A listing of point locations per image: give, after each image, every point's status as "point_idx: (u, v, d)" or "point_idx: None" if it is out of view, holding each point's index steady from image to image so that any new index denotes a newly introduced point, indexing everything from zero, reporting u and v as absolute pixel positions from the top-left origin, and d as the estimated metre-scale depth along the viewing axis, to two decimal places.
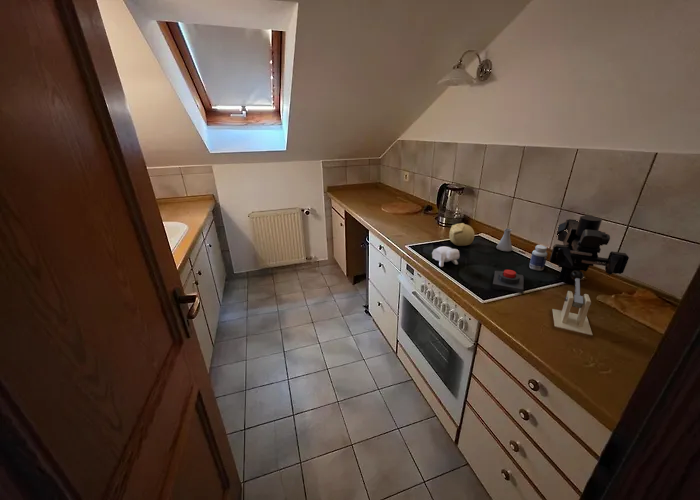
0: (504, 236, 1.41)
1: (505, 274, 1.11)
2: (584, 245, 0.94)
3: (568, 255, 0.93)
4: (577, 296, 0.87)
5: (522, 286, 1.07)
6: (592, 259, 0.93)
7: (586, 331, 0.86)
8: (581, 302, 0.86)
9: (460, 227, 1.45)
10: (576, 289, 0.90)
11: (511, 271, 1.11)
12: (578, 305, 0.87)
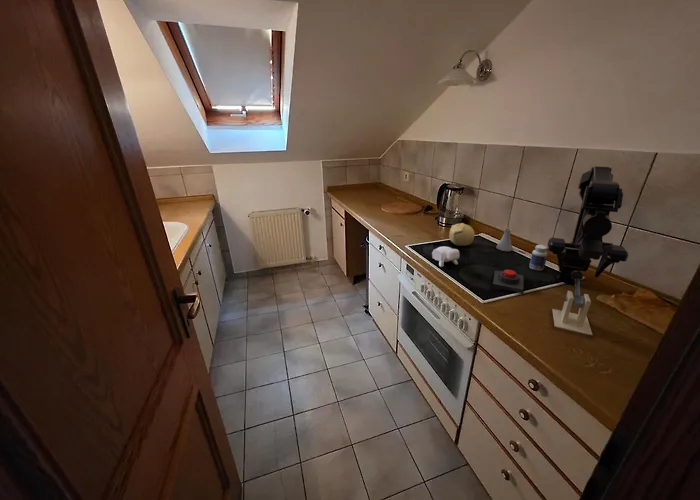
0: (504, 236, 1.41)
1: (505, 274, 1.11)
2: None
3: (561, 258, 0.92)
4: (577, 296, 0.87)
5: (522, 286, 1.07)
6: None
7: (586, 331, 0.86)
8: (581, 302, 0.86)
9: (460, 227, 1.45)
10: (576, 289, 0.90)
11: (511, 271, 1.11)
12: (578, 305, 0.87)
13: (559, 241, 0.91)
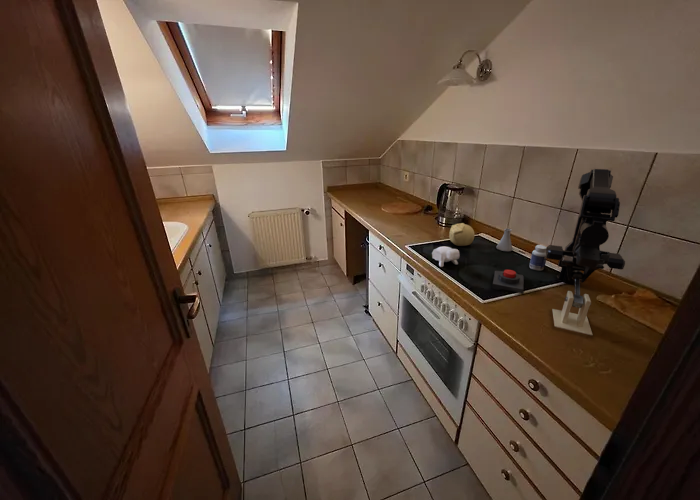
0: (504, 236, 1.41)
1: (505, 274, 1.11)
2: None
3: (570, 267, 0.92)
4: (577, 296, 0.87)
5: (522, 286, 1.07)
6: None
7: (586, 331, 0.86)
8: (581, 302, 0.86)
9: (460, 227, 1.45)
10: (576, 289, 0.90)
11: (511, 271, 1.11)
12: (578, 305, 0.87)
13: (557, 249, 0.92)
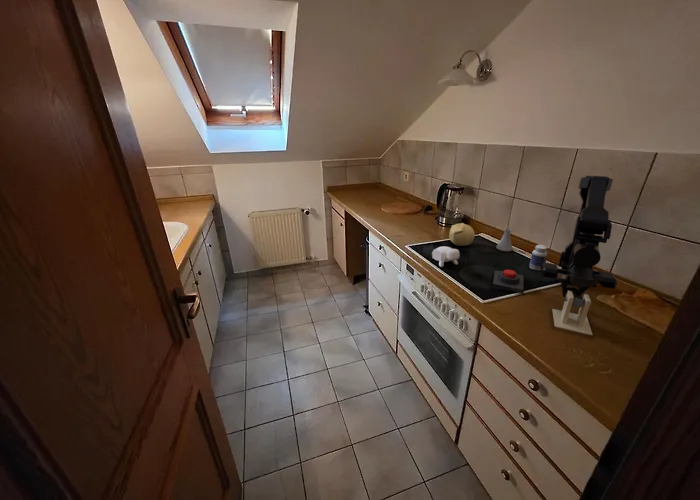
0: (504, 236, 1.41)
1: (505, 274, 1.11)
2: None
3: (565, 285, 0.95)
4: (576, 296, 0.88)
5: (522, 286, 1.07)
6: None
7: (586, 331, 0.86)
8: (581, 299, 0.86)
9: (460, 227, 1.45)
10: (574, 295, 0.91)
11: (511, 271, 1.11)
12: (579, 303, 0.86)
13: (552, 267, 0.95)
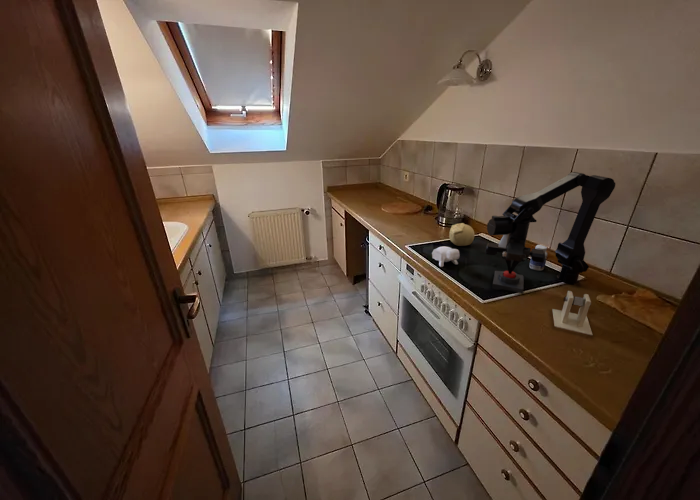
0: (504, 236, 1.41)
1: (505, 275, 1.11)
2: None
3: (509, 262, 1.09)
4: None
5: (522, 286, 1.07)
6: None
7: (586, 331, 0.86)
8: None
9: (460, 227, 1.45)
10: None
11: None
12: (579, 301, 0.86)
13: (493, 246, 1.10)
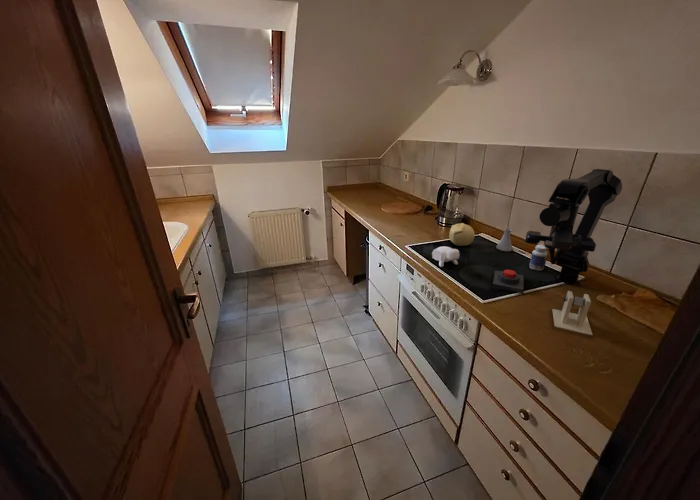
0: (504, 236, 1.41)
1: (505, 274, 1.11)
2: None
3: (552, 251, 0.99)
4: None
5: (522, 286, 1.07)
6: None
7: (586, 331, 0.86)
8: None
9: (460, 227, 1.45)
10: None
11: (511, 271, 1.11)
12: (579, 301, 0.86)
13: (535, 234, 1.00)
